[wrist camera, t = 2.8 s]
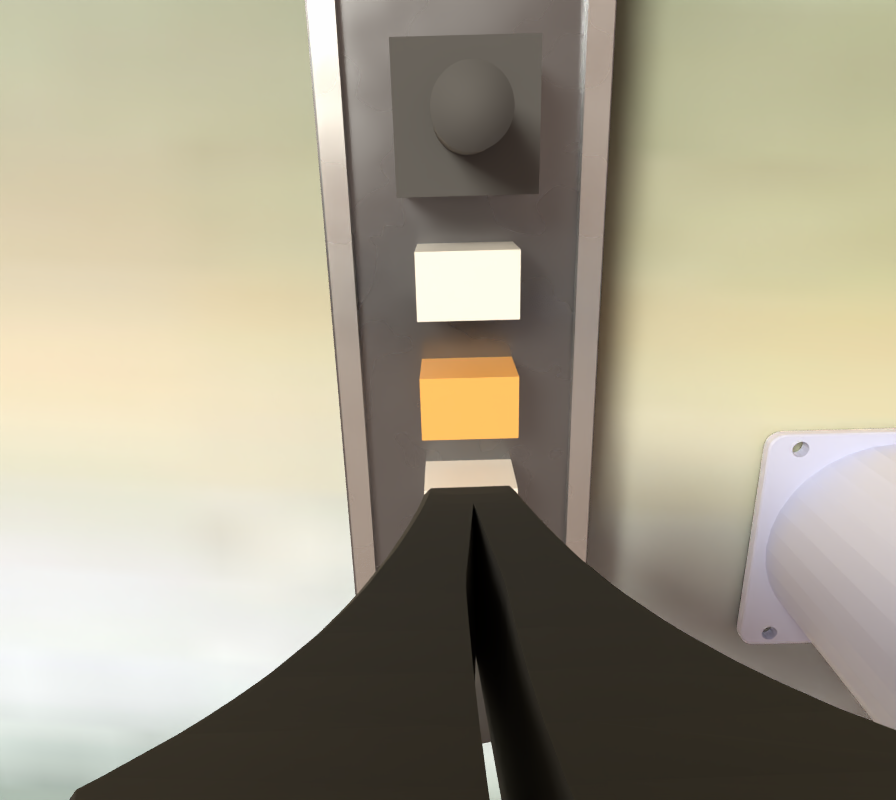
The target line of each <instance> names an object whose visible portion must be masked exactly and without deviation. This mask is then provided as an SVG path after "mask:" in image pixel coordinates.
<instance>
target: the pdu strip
mask: <svg viewBox="0 0 896 800" xmlns="http://www.w3.org/2000/svg"><path fill="white" fill-rule="evenodd" d="M305 7H306V19H307V30H308V42H309V54H310V66H311V77H312V89H313V101H314V113H315V124H316V136H317V148H318V160H319V171H320V183H321V195H322V206H323V218H324V230H325V242H326V253H327V265H328V277H329V289H330V300H331V312H332V324H333V336H334V347H335V359H336V371H337V383H338V394H339V406H340V418H341V430H342V441H343V453H344V465H345V477H346V488H347V500H348V512H349V524H350V535H351V547H352V559H353V571H354V582H355V594H356V595H357V594H358V593H359V591H360V590H361V589H362V588H363V587H364V585H365V584H366V583H367V582H368V581H369V579H370V578H371V577H372V576H373V574H374V573H375V572H376V571H377V569H378V568H379V567H380V566H381V564H382V563H383V562H384V561H385V559H386V558H387V557H388V555H389V554H390V552H391V551H392V549H393V548H394V546H395V545H396V543H397V542H398V540H399V539H400V538H401V536H402V535H403V533H404V532H405V530H406V529H407V527H408V525H409V523H410V522H411V520H412V518H413V517H414V515H415V513H416V511H417V509H418V507H419V505H420V503H421V501H422V499H423V496H424V484H425V467H426V461H459V460H498V459H511V462H512V466H513V470H514V475H515V479H516V483H517V487H518V495H519V496H520V497H521V498H522V499H523V500H524V502H525V503H526V504H527V505H528V506H529V507H530V508H531V509H532V511H533V512H534V513H535V514H536V515H537V516H538V517H539V518H540V519H541V520H542V521H543V522H544V523H545V525H546V526H547V527H548V528H549V529H550V530H551V531H552V532H553V533H554V534H555V535H556V536H557V537H558V538H559V539H560V540H562V541H563V542H564V543H565V544H566V545H567V546H568V547H569V548H570V549H571V550H572V551H573V552H574V553H575V554H576V555H577V556H578V557H579V558H581V559H582V560H583V561H584V562H585V563H586V564H587V546H588V528H589V509H590V491H591V472H592V454H593V435H594V417H595V398H596V380H597V361H598V343H599V324H600V305H601V287H602V268H603V250H604V231H605V213H606V194H607V176H608V157H609V139H610V120H611V102H612V83H613V65H614V46H615V28H616V9H617V0H305ZM519 33H542V78H541V125H540V173H539V194H524V195H486V196H447V197H409V198H397V197H396V176H395V155H394V135H393V114H392V94H391V73H390V53H389V37H405V36H443V35H481V34H519ZM509 241H513V242H514V243H515V244H516V245H517V246H518V247H519V248H520V249H521V275H520V319H514V320H475V321H437V322H417V305H416V280H415V256H414V252H415V249H416V246H417V244H432V243H471V242H509ZM475 357H512V359H513V361H514V364H515V367H516V369H517V372H518V375H519V436H518V438H500V439H461V440H422V427H421V402H420V371H421V362H422V359H436V358H475Z"/></svg>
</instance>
